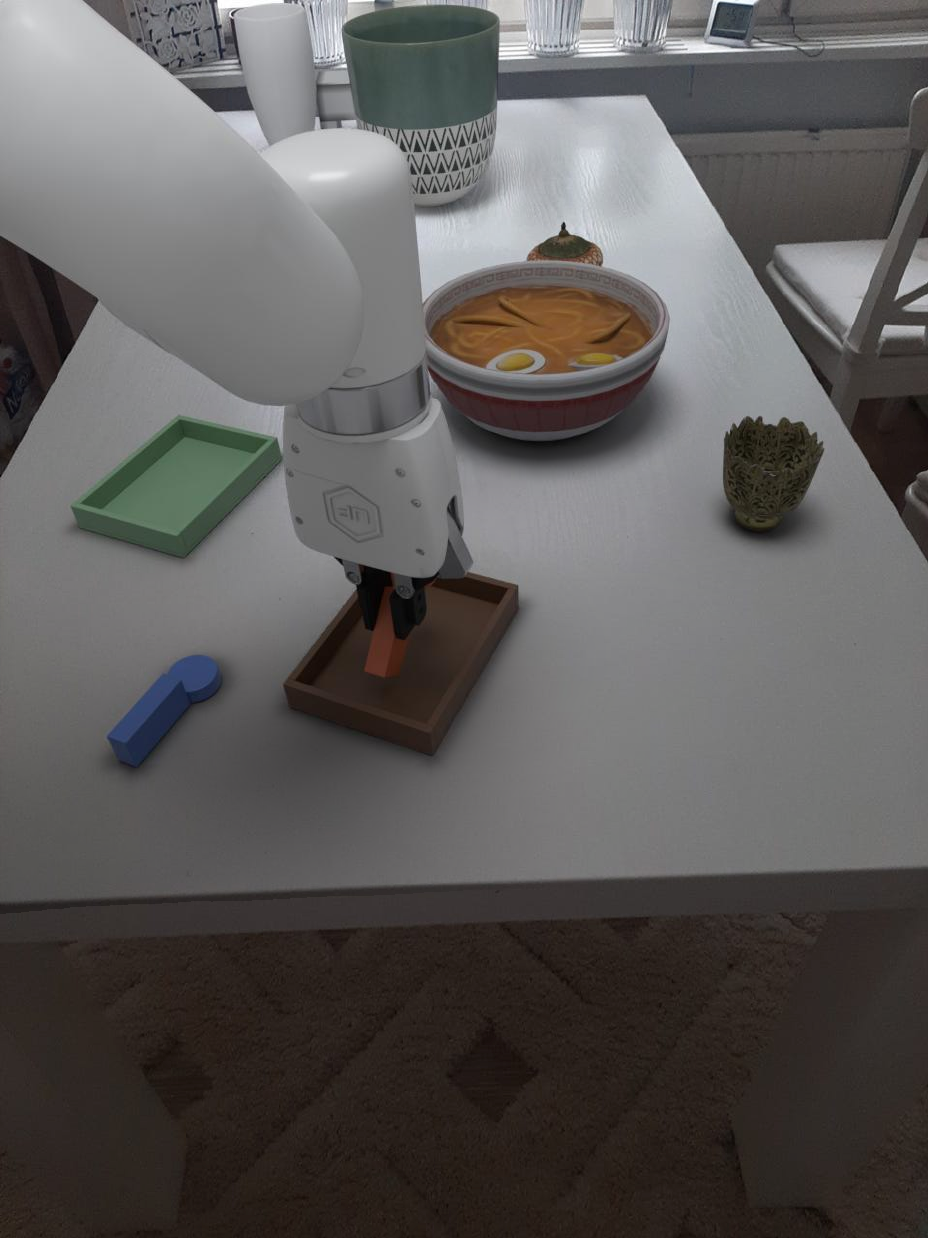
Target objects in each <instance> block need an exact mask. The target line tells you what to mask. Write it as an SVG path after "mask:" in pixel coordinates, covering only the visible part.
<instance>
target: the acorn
mask: <svg viewBox="0 0 928 1238" xmlns="http://www.w3.org/2000/svg"><path fill="white" fill-rule="evenodd" d="M542 260H553V261H572V262H579V263H586V264H593V265H597V266H601V267H603V263H604V254H603V252H602V249H601V248H600V247H599V246H598V245H597V244H595V243H594V242H592V241H589V240H587V239H585V238H584V237H582V236H579V235H576V234H570V232H569V231H568V230H567V225H566V222H565V221H562V223H561V225H560V231H559V232H558V234H557V235H553V236H551V237H549V238H547V239H545V240H544V241H543V242H541V243H539V244H537V245H536V246H534V247H533V248H532V249H531V250H530V251H529V252H528V254H527V256H526V260H525V261H542Z"/></svg>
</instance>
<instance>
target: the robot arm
mask: <svg viewBox="0 0 928 1238" xmlns="http://www.w3.org/2000/svg"><path fill="white" fill-rule="evenodd" d="M415 209H416V208H415V205H414V197H413V186H412V178H411V171H410V167H409V164H408V161H407V159H406V157H405V155H404V153H403V151H402V150H401V149H400V148H399V146H398V145H397V144H396V143H394V142H393V141H392V140H390V139H389V138H387V137H385V136H383V135H381V134H378V133H375V132H371V131H366V130H360V129H357V128H350V127H349V128H348V127H347V128H346V127H342V128H332V129H321V128H320V129H314V131H309V132H304V133H301V134H297V135H294V136H291V137H288V138H286V139H283V140H281V141H279V142H277V143H275V144H273V145H272V146H269V147H267V148H266V149H264V151H261V152H260V153H258V151H256V150H255V148H254V147H252V145H251V144H249V142H248V141H247V140H246V139H245V138H244V137H242V136H241V134H240V133H239V132H237V131H236V130H235V129H234V128H233V127H232V126H231V125H230V124H229V123H228V122H227V121H226V120H225V119H223V117H221V116H220V115H219V114H218V113H217V112H215V111H214V110H213V109H212V108H211V107H210V106H209V105H208V104H207V103H205V101H203V100H202V99H201V98H200V97H199V96H198V95H197V94H195V93H194V92H193V91H192V90H191V89H189V88H188V87H187V86H186V85H185V84H183V83H182V82H181V81H180V80H179V79H178V78H176V77H175V76H174V75H173V74H171V73H170V72H169V71H168V70H167V69H166V68H164V66H162V65H160V64H159V62H157V61H156V60H154V58H152V57H151V56H150V55H149V54H147V53H146V52H145V51H144V50H143V49H141V48H140V47H139V46H137V45H136V44H135V43H134V42H133V41H132V40H131V39H129V38H128V37H127V36H125V35H124V34H123V33H121V32H120V31H119V30H118V29H117V28H116V27H114V26H113V25H112V24H111V23H110V22H108V20H106V19H105V18H104V17H103V16H101V15H100V14H99V13H98V12H97V11H95V10H94V9H93V8H92V6H90V5H89V4H88V3H87V2H86V1H84V0H0V237H2V238H4V239H5V240H7V241H8V242H10V243H12V244H13V245H15V246H16V247H19V248H20V249H22V250H23V251H25V252H26V253H28V254H29V255H31V256H33V257H34V258H36V259H37V260H39V261H40V262H42V263H44V264H45V265H47V266H48V267H50V268H51V269H53V270H54V271H56V272H57V273H59V274H61V275H62V276H64V277H65V278H66V279H68V280H70V281H71V282H72V283H74V284H76V285H77V286H79V287H80V288H82V289H83V290H85V291H86V292H88V293H89V294H91V295H92V296H93V297H95V298H97V300H98V301H99V303H100V304H101V305H102V306H103V307H104V308H105V309H106V311H108V312H109V313H110V314H111V315H112V316H113V317H115V319H117V320H118V321H119V322H120V323H121V324H123V325H125V326H126V327H127V328H129V329H131V330H132V331H134V332H135V333H137V334H138V335H140V336H141V337H144V338H145V339H146V340H147V341H149V342H151V343H153V344H154V345H155V346H157V347H159V348H160V349H162V350H163V351H164V352H166V353H168V354H171V355H172V356H174V357H176V358H177V359H178V360H180V361H182V362H183V363H185V364H187V365H188V366H190V367H191V368H193V369H195V370H196V371H197V372H199V373H201V374H202V375H203V376H205V377H207V378H208V379H209V380H211V381H212V382H214V383H215V384H216V385H219V387H221V388H222V389H224V390H225V391H227V392H228V393H231V395H234V396H236V397H237V398H239V399H242V400H244V401H246V402H249V403H253V404H257V405H260V406H268V407H269V406H270V407H271V406H272V407H284V409H283V423H282V424H283V425H282V460H283V469H284V470H283V471H284V480H285V488H286V495H287V501H288V507H289V512H290V517H291V518H290V519H291V522H292V526H293V530H294V533H295V535H296V537H297V539H298V540H299V542H300V543H301V544H302V545H304V546H305V547H307V548H309V549H310V550H313V551H314V552H318V553H321V554H324V555H327V556H330V557H333V558H334V559H335V560H336V561H337V563H339V564H340V565H341V566H342V568H343V571H344V576H345V578H346V580H347V581H348V582H349V583H350V584H352V585H355V588H356V589H357V594H358V600H359V606H360V609H362V614H363V620H364V625H365V629H367V630H371V631H374V628H375V625H376V621H377V617H378V613H379V608H380V604H381V600H382V596H383V592H384V588H385V586H387V587H393V584H392V577H391V572H392V573H394V581H395V589H394V591H393V592H392V593H391V595H390V598H389V602H390V608H391V615H392V622H393V629H394V634H395V636H396V638H397V639H401V640H405V639H406V638H407V637H408V635H409V634H410V632H411V631H412V629H413V628H414V626H415V625H417V626H419V625H420V624H421V622H422V621H423V619H424V618H425V615H426V611H427V606H426V597H425V586H426V585H428V584H430V583H431V582H433V581H434V580H435V579H436V578H441V579H461V578H464V577H465V576H466V574H467V573H468V572H470V570H471V568H472V567H473V565H474V560H473V557H472V555H471V553H470V550H469V549H468V547H467V544H466V542H465V540H464V538H463V534H464V531H465V530H464V529H465V514H464V500H463V492H462V485H461V478H460V472H459V466H458V461H457V456H456V451H455V446H454V442H453V439H452V435H451V430H450V428H449V425H448V421H447V418H446V414H445V412H444V410H443V406H442V403H441V401H440V400H439V399H438V398H435V397H433V396H431V385H430V383H431V382H430V373H429V371H428V360H427V349H426V337H425V325H424V313H423V302H424V301H423V290H422V289H423V288H422V279H421V268H420V267H421V266H420V254H419V245H418V232H417V221H416V210H415ZM356 589H355V590H356Z"/></svg>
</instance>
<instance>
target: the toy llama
mask: <svg viewBox="0 0 928 1238" xmlns="http://www.w3.org/2000/svg"><path fill="white" fill-rule="evenodd" d="M373 6H374V11H379V10H384V9H389V8H396V6H395V0H374V1H373ZM316 88H317V91H316V118H318V119H319V125H320V126H319V127H320V130H321V129H332V128H343V125H342V122H343V121H344V122H345V121H356V118H355V112H354V106H353V100H352V94H351V88H350V81H349V75H348V69H341V70H340V69H339V70H323V71H322V70H321V71H318V73H317V77H316Z"/></svg>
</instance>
